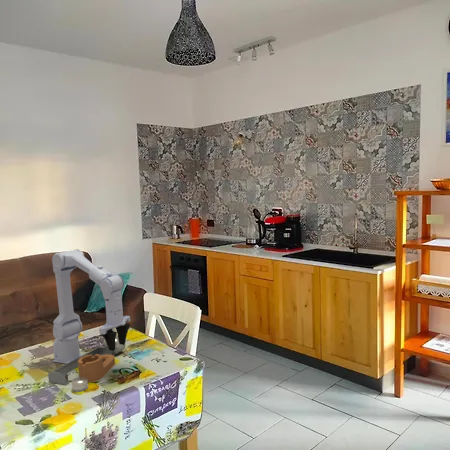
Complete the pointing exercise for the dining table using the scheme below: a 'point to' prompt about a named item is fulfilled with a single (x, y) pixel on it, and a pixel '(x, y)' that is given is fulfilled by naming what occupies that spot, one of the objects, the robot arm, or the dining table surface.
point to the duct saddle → (60, 373)
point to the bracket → (95, 366)
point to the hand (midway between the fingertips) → (117, 347)
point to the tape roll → (79, 384)
